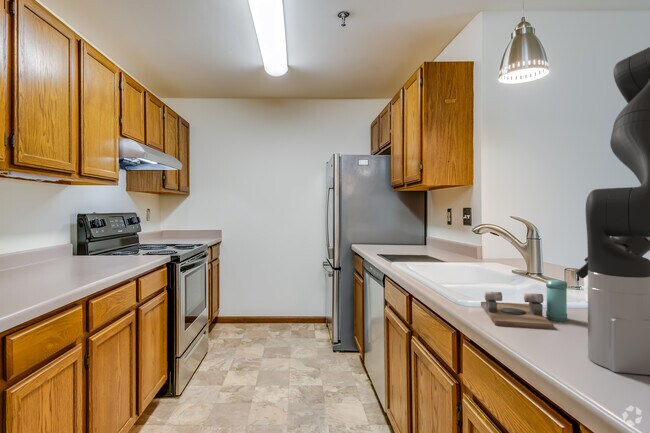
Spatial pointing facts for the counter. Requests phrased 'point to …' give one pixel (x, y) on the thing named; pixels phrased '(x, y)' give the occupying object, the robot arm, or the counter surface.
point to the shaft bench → (516, 311)
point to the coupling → (556, 300)
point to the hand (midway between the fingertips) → (586, 279)
